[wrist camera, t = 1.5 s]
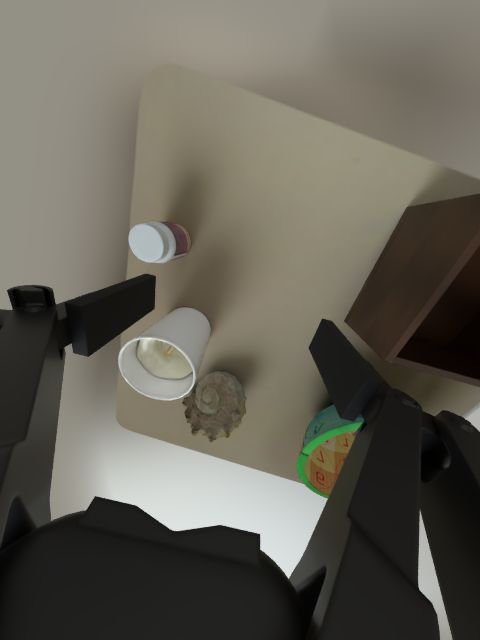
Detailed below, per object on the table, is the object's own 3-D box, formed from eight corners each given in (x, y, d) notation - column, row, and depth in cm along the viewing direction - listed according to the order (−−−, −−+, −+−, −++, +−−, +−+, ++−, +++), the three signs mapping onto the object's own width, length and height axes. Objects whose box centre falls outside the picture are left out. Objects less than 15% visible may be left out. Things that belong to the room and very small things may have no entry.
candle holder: (218, 308, 32) (199, 346, 21) (211, 355, 36) (192, 407, 25) (162, 297, 32) (114, 329, 21) (161, 345, 36) (120, 392, 25)
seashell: (256, 375, 39) (257, 413, 29) (225, 422, 43) (218, 469, 34) (207, 351, 38) (192, 383, 28) (181, 402, 42) (161, 444, 33)
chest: (444, 349, 32) (529, 400, 22) (343, 321, 31) (383, 360, 21) (534, 245, 25) (719, 252, 15) (407, 207, 24) (510, 187, 14)
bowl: (428, 399, 36) (485, 454, 27) (355, 460, 45) (379, 517, 36) (325, 357, 34) (350, 401, 25) (270, 430, 43) (274, 481, 34)
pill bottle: (173, 215, 27) (139, 208, 19) (197, 241, 28) (175, 244, 20) (154, 240, 29) (116, 242, 21) (178, 264, 30) (151, 274, 22)
